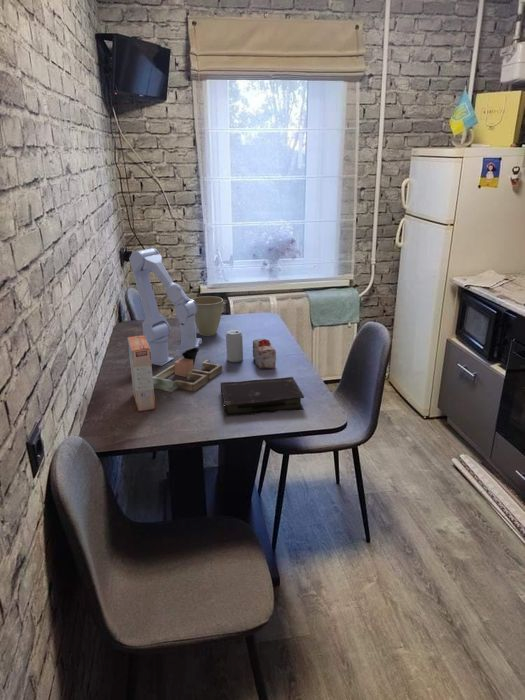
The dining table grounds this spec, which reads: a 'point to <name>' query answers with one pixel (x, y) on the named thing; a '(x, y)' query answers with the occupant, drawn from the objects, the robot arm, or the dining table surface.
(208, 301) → the plant pot
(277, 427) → the dining table surface
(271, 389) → the diary
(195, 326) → the robot arm
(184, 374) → the block
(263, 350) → the food item
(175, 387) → the trap lane
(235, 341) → the beverage can
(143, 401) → the cracker box
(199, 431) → the dining table surface
